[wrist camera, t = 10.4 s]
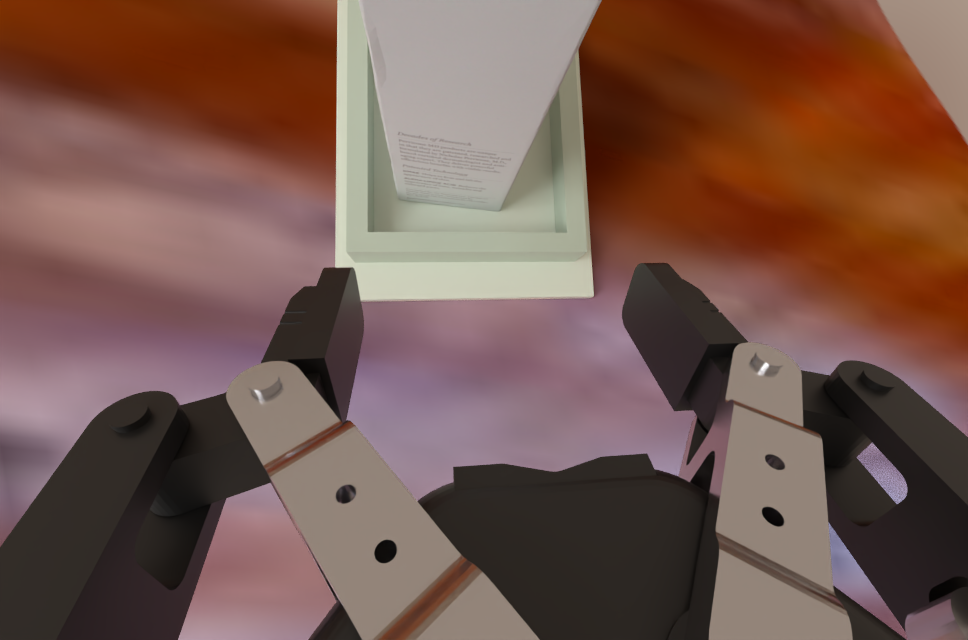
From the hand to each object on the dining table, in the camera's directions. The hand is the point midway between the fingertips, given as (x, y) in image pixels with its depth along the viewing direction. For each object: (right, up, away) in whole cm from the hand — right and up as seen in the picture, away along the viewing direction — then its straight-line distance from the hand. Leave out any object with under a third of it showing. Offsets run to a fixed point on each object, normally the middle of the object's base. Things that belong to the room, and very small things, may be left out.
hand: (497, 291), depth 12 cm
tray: (-2, +9, +12) cm, 15 cm away
